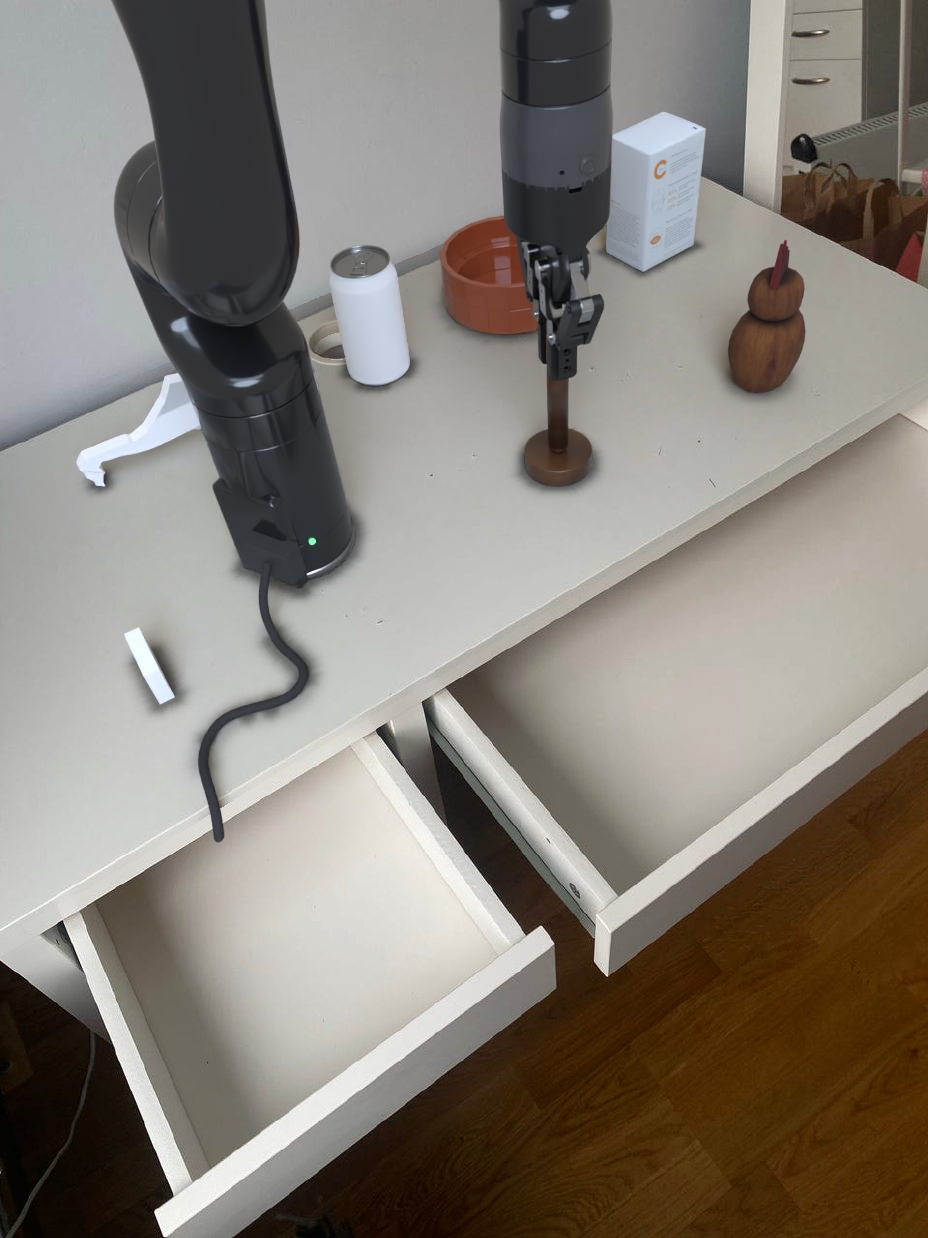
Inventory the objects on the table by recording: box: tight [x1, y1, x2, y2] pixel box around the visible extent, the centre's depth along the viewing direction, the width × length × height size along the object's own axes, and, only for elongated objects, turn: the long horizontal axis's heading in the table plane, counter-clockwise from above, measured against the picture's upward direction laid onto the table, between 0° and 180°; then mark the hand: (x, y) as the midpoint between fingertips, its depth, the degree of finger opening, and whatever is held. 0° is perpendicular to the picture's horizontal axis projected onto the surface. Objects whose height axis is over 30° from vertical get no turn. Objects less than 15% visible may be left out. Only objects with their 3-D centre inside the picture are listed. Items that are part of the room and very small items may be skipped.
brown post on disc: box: [524, 317, 593, 488], centre depth 79 cm, size 6×6×15 cm
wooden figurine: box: [727, 239, 807, 394], centre depth 85 cm, size 7×6×15 cm
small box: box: [605, 111, 707, 273], centre depth 102 cm, size 8×6×13 cm
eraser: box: [123, 627, 176, 705], centre depth 72 cm, size 1×5×4 cm, turn 31°
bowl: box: [439, 215, 540, 335], centre depth 100 cm, size 14×14×6 cm
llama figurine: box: [75, 372, 201, 487], centre depth 89 cm, size 2×11×18 cm
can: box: [328, 244, 411, 387], centre depth 92 cm, size 6×6×12 cm
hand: (557, 367), depth 77 cm, fingers closed on brown post on disc, 2 cm apart
